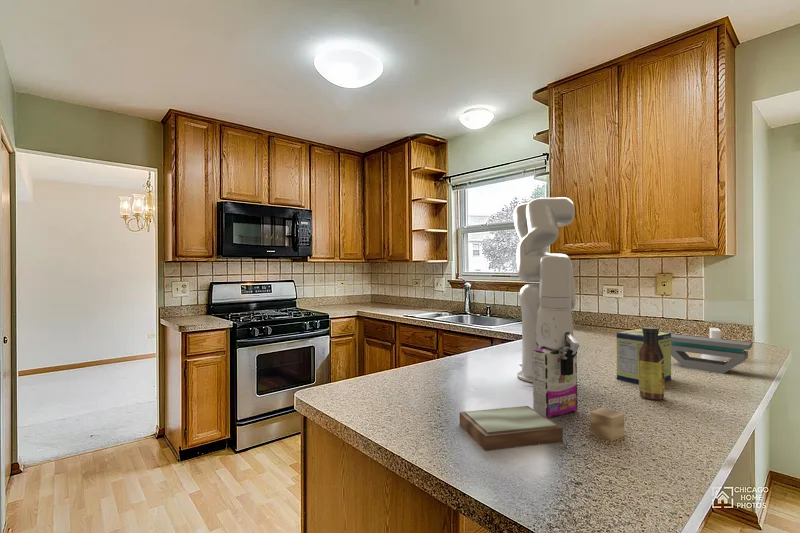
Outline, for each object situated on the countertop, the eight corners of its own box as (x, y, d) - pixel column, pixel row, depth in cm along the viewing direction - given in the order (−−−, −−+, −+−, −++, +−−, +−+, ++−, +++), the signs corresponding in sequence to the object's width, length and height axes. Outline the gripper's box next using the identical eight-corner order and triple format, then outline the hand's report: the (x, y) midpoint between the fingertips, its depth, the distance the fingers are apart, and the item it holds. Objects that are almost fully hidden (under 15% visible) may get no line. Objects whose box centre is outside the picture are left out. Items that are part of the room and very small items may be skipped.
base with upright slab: (730, 363, 158) (730, 331, 158) (701, 360, 163) (702, 329, 163) (727, 358, 166) (727, 328, 166) (700, 355, 171) (700, 327, 170)
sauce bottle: (668, 401, 113) (668, 330, 113) (643, 400, 115) (643, 329, 115) (658, 394, 120) (658, 326, 120) (635, 393, 121) (635, 325, 121)
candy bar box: (562, 405, 110) (562, 344, 110) (578, 411, 106) (578, 348, 106) (531, 412, 105) (531, 348, 105) (546, 419, 101) (546, 352, 100)
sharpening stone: (663, 364, 156) (663, 335, 156) (669, 361, 161) (669, 333, 161) (748, 377, 138) (748, 345, 137) (752, 373, 143) (752, 342, 143)
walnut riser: (459, 424, 97) (459, 410, 97) (527, 417, 101) (527, 404, 101) (485, 450, 84) (485, 434, 83) (562, 441, 88) (562, 426, 88)
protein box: (671, 379, 136) (671, 332, 136) (649, 387, 127) (649, 337, 127) (638, 372, 145) (638, 328, 144) (615, 379, 136) (615, 332, 136)
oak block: (590, 433, 92) (590, 411, 92) (602, 428, 95) (602, 407, 95) (612, 441, 88) (612, 418, 88) (624, 436, 91) (624, 413, 91)
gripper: (524, 301, 113) (524, 363, 113) (563, 307, 96) (563, 380, 96) (548, 300, 115) (548, 361, 115) (590, 306, 98) (590, 378, 98)
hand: (554, 369), depth 105 cm, fingers open, 9 cm apart
